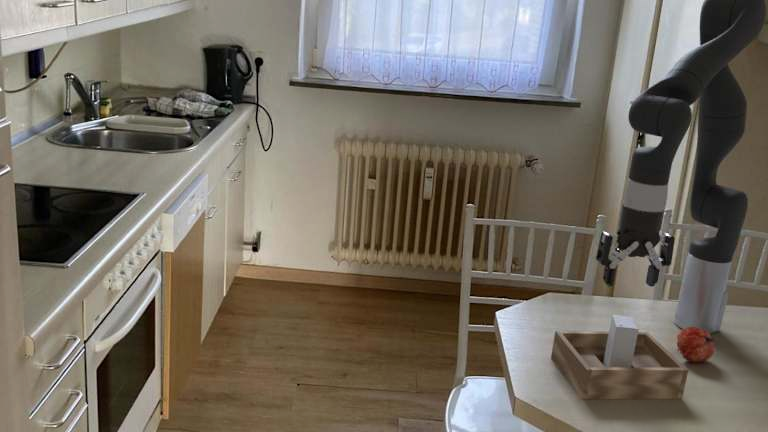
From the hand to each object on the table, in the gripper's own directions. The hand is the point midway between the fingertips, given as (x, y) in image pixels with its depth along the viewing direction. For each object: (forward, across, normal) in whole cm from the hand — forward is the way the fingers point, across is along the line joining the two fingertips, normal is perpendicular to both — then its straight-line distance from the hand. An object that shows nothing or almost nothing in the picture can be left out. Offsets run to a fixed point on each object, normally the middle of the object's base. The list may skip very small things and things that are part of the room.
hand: (629, 285), depth 149 cm
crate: (+18, +1, +2) cm, 19 cm away
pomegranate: (+19, -20, -5) cm, 28 cm away
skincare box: (+19, +1, +2) cm, 19 cm away
